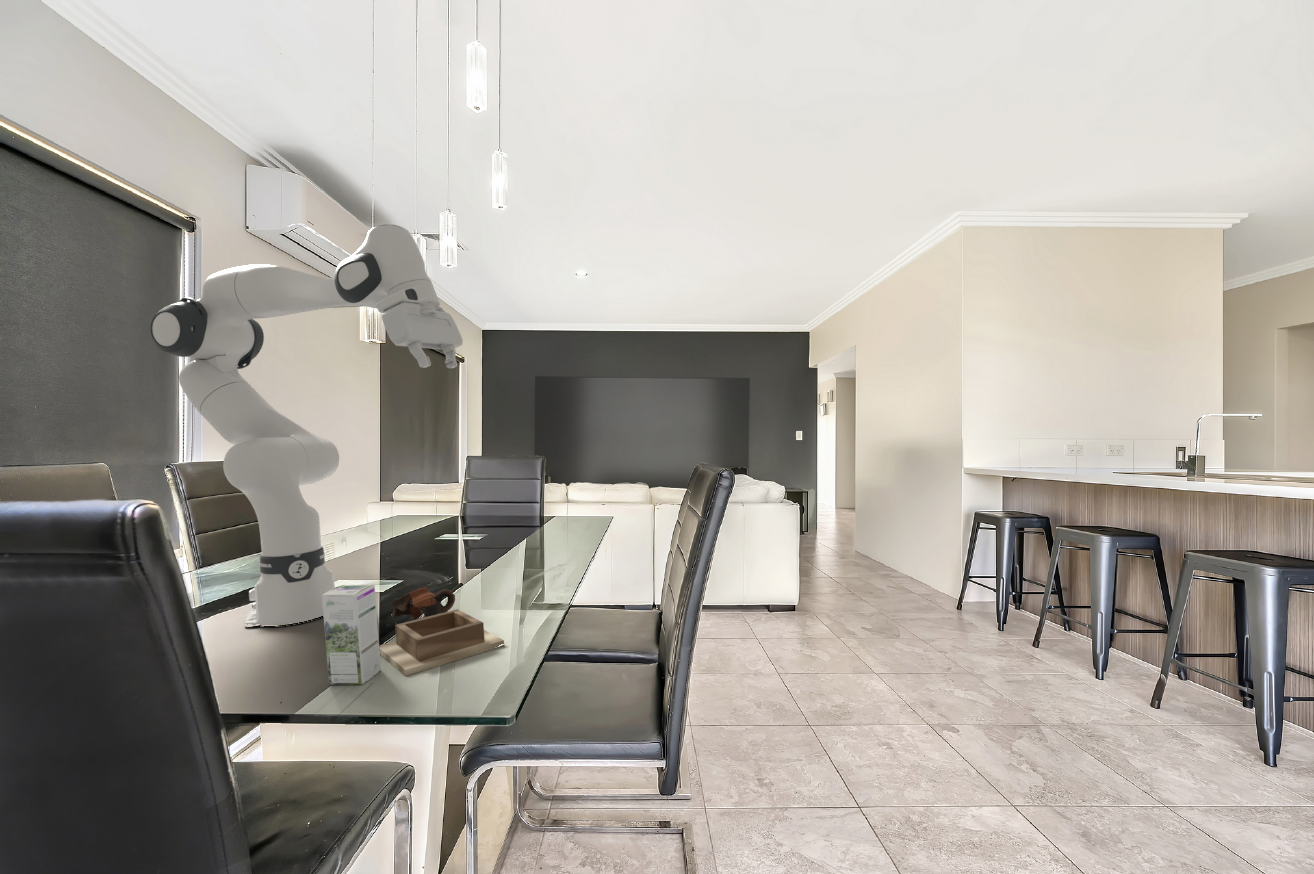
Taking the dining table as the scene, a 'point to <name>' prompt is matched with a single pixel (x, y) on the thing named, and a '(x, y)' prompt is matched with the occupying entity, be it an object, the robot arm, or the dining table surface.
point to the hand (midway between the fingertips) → (439, 367)
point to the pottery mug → (423, 603)
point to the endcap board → (437, 641)
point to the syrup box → (351, 634)
